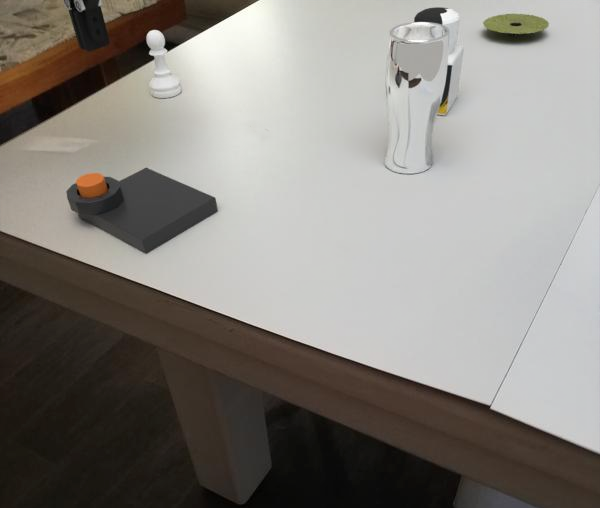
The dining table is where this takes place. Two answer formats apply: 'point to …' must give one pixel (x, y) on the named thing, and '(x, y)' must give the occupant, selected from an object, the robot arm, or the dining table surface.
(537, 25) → the green disc
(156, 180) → the dark grey button base
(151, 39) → the chess pawn
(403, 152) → the beer glass
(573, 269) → the dining table surface
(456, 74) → the medicine bottle
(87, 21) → the robot arm
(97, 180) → the tare button
